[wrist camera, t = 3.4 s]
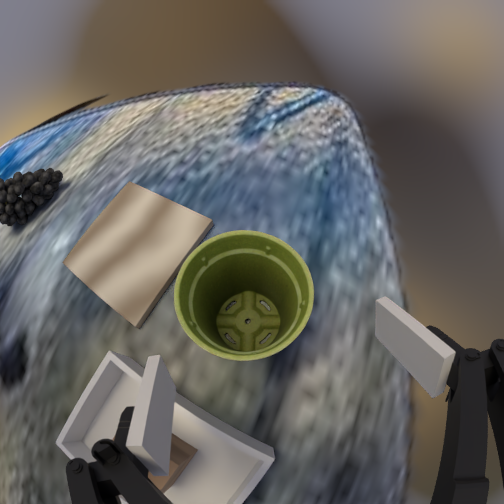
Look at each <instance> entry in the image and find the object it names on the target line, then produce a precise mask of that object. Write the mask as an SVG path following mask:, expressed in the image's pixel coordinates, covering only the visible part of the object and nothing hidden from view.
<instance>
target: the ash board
mask: <svg viewBox="0 0 504 504" xmlns="http://www.w3.org/2000/svg"><path fill="white" fill-rule="evenodd" d="M212 226H213V221H212V219H209V218H207V217H205V216H203V215H201V214H199V213H197V212H195V211H192V210H190V209H188V208H186V207H184V206H182V205H180V204H177V203H175V202H173V201H171V200H169V199H167V198H164V197H162V196H160V195H158V194H156V193H154V192H152V191H149V190H147V189H145V188H143V187H141V186H139V185H136V184H134V183H132V182H130V181H129V182H128V183H127V185H126V186H125V187H124V188H123V189H122V190H121V191H120V192H119V193H118V194H117V195H116V197H115V198H114V199H113V200H112V201H111V202H110V203H109V204H108V206H107V207H106V208H105V209H104V210H103V211H102V213H101V214H100V215H99V216H98V217H97V218H96V220H95V221H94V222H93V223H92V225H91V226H90V227H89V228H88V229H87V231H86V232H85V233H84V235H83V236H82V237H81V238H80V240H79V241H78V242H77V244H76V245H75V246H74V247H73V249H72V250H71V252H70V253H69V254H68V256H67V257H66V258H65V260H64V261H63V263H64V264H65V265H66V266H67V267H68V268H69V269H70V270H71V271H72V272H73V273H74V274H75V275H76V276H77V277H78V278H79V279H80V280H81V281H82V282H83V283H85V284H86V285H87V286H88V287H89V288H90V289H91V290H92V291H93V292H94V293H96V294H97V295H98V296H99V297H100V298H101V299H102V300H104V301H105V302H106V303H107V304H108V305H109V306H111V307H112V308H113V309H114V310H115V311H117V312H118V313H119V314H120V315H122V316H123V317H124V318H125V319H127V320H128V321H129V322H130V323H132V324H133V325H134V326H135V327H137V328H139V329H140V327H141V326H142V324H143V323H144V321H145V320H146V318H147V317H148V315H149V314H150V313H151V311H152V310H153V308H154V307H155V305H156V304H157V302H158V301H159V299H160V298H161V297H162V295H163V294H164V292H165V291H166V289H167V288H168V287H169V285H170V284H171V282H172V281H173V280H174V278H175V277H176V275H177V274H178V272H179V271H180V269H181V267H182V265H183V263H184V262H185V260H186V259H187V257H188V256H189V255H190V254H191V253H192V252H193V251H194V250H195V249H196V248H197V246H198V245H199V244H200V242H201V241H202V240H203V238H204V237H205V236H206V234H207V233H208V232H209V230H210V229H211V228H212Z"/></svg>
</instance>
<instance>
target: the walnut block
mask: <svg viewBox="0 0 504 504" xmlns="http://www.w3.org/2000/svg"><path fill="white" fill-rule="evenodd" d="M114 438H115V436H114ZM114 438H113V439H112V440H113V441H114ZM197 451H198V449H196V448H194V447H193V446H191V445H190V444H188V443H186V442H185V441H183V440H182V439H180V438H179V437H177V436H176V435H174V434H173V433H172V435H171V448H170V462H169V476H153V475H152V474H151V473H150V472H148V478H149V479H150V480H151V481H152V482H153V483H154V484H155V485H156V486H157V488H158V489H159V490H160V491H161V492H162V493H163V494H164V493H165V492H166V491H167V490H168V489H169V488H170V487H171V486H172V485H173V484H174V483H175V481H176V480H177V479H178V477H179V476H180V475H181V473H182V472H183V470H184V469H185V468H186V466H187V465H188V463H189V462H190V461H191V459H192V458H193V456H194V455H195V454H196V452H197Z"/></svg>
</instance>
